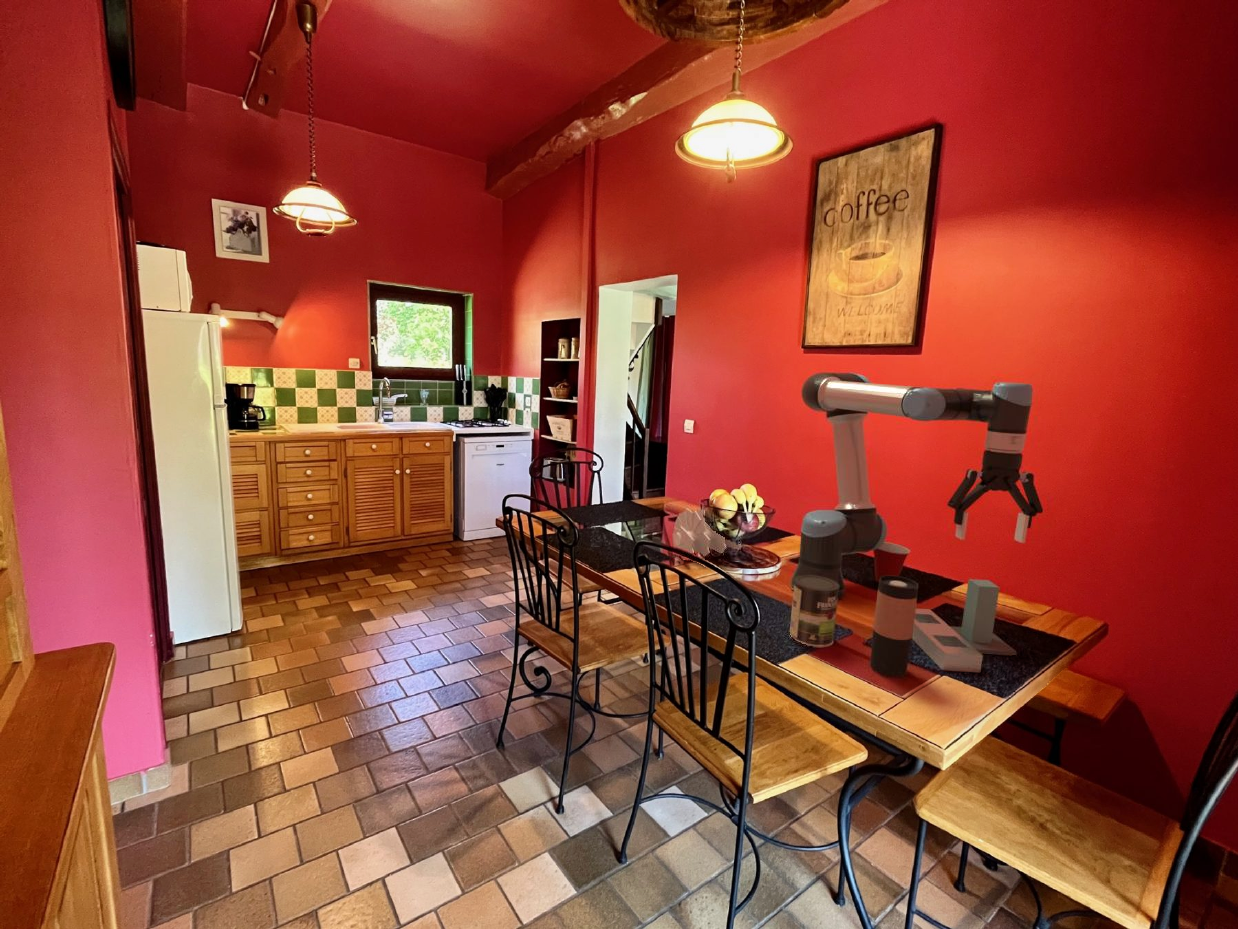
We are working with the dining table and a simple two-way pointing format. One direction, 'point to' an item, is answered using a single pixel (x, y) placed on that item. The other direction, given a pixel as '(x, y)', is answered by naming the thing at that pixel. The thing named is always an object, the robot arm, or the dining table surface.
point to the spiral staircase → (698, 534)
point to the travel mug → (893, 625)
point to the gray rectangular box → (980, 611)
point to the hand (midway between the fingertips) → (989, 539)
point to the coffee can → (814, 610)
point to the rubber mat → (989, 645)
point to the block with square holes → (944, 643)
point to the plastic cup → (889, 559)
